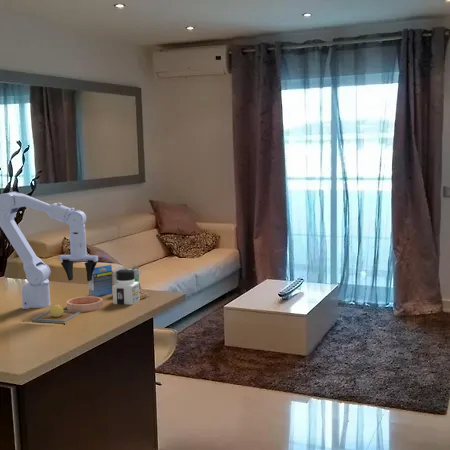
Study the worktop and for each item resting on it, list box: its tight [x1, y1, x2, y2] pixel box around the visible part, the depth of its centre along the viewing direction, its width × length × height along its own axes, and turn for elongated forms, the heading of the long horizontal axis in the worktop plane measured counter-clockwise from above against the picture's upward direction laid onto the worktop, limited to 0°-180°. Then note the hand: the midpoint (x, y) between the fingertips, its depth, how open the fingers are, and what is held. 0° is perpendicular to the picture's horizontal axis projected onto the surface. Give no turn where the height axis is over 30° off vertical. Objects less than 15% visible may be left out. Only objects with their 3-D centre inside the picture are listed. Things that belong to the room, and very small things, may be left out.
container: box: [112, 268, 141, 305], centre depth 228 cm, size 8×8×13 cm
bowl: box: [66, 295, 104, 313], centre depth 221 cm, size 13×13×3 cm
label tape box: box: [88, 264, 113, 297], centre depth 241 cm, size 9×4×12 cm, turn 136°
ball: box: [49, 303, 64, 318], centre depth 210 cm, size 4×4×4 cm
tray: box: [31, 309, 82, 325], centre depth 210 cm, size 12×12×1 cm
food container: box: [114, 266, 142, 284], centre depth 243 cm, size 12×6×10 cm, turn 148°
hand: (80, 280), depth 224 cm, fingers open, 7 cm apart
